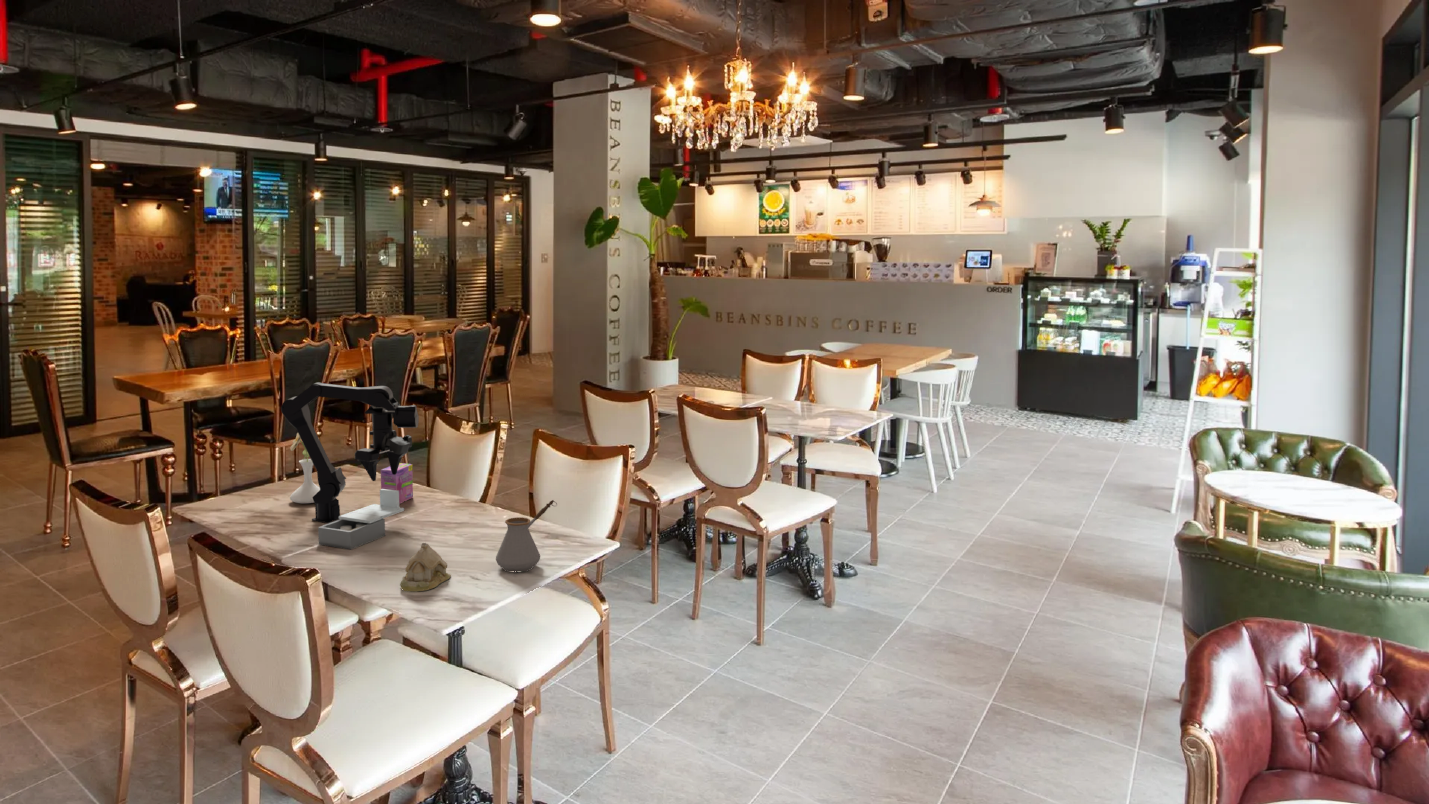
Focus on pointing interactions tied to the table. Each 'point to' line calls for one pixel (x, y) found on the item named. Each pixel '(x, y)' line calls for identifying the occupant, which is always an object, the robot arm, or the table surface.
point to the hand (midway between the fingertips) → (384, 477)
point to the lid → (377, 508)
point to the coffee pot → (519, 544)
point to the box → (399, 481)
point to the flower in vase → (308, 487)
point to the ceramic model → (424, 570)
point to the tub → (350, 533)
